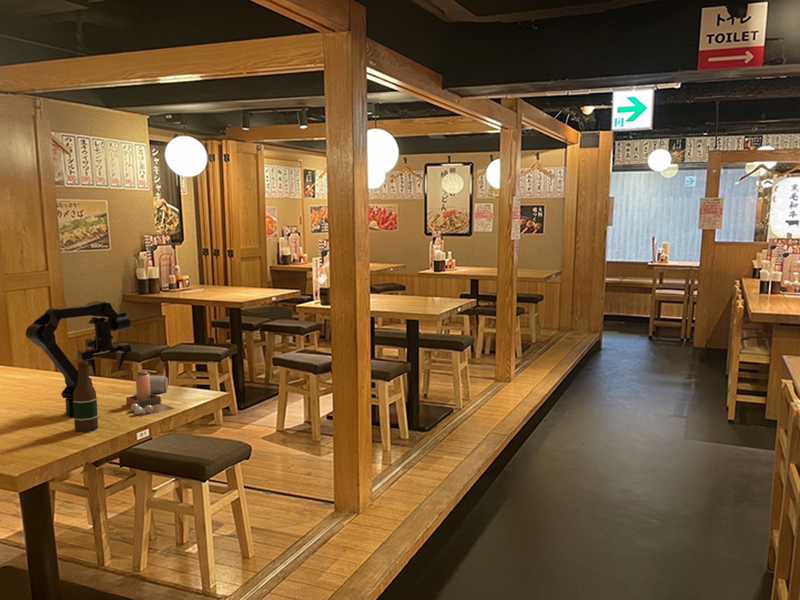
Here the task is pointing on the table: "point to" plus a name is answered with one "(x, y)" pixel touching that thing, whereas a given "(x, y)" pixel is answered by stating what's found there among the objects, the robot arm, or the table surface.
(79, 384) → the beer bottle
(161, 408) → the board
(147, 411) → the pebble
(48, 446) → the table surface
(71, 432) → the table surface
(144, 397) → the canister
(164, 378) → the ceramic mug
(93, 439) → the table surface
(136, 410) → the pebble
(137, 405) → the pebble
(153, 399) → the lacquer box
